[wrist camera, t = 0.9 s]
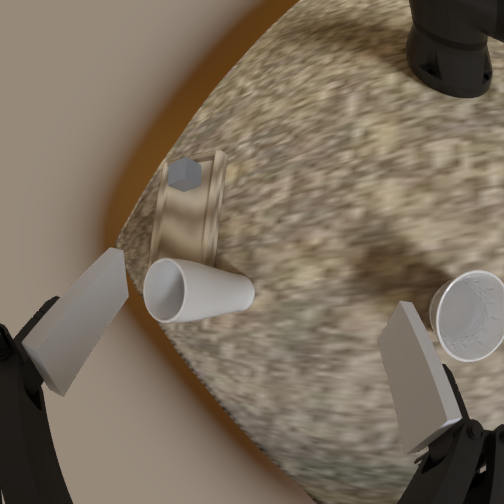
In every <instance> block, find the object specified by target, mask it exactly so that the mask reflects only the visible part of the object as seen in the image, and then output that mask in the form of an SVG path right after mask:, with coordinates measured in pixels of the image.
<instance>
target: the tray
mask: <svg viewBox="0 0 504 504" xmlns="http://www.w3.org/2000/svg"><path fill="white" fill-rule="evenodd" d="M188 158H190V159H191V160H193V161H195V162H196V163H198V164H200V165H201V186H200V187H197V188H194V189H191V190H188V191H186V192H182V191H179V190H177V189H175V188H173V187H170V186H168V171H169V164H171V163H173V162H175V161H178V160H180V159H178V160H174V161H170V162H166V163H165V164H164V168H163V173H162V178H161V184H160V189H159V195H158V200H157V206H156V212H155V219H154V225H153V232H152V240H151V247H150V255H149V264H148V269H149V268H150V267H151V265H152V264H153V263H154V262H156V261H157V260H159V259H161V258H174V259H182V260H188V261H193V262H197V263H201V264H204V265H207V266H211V267H214V268H215V258H216V249H217V240H218V231H219V222H220V214H221V205H222V197H223V190H224V182H225V174H226V167H227V160H228V155H227V154H225V153H224V152H222V151H221V150H216V151H211V152H207V153H202V154H198V155H194V156H190V157H188ZM181 159H182V158H181Z"/></svg>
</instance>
